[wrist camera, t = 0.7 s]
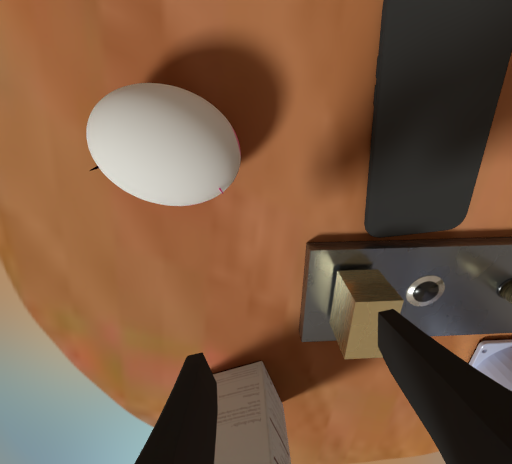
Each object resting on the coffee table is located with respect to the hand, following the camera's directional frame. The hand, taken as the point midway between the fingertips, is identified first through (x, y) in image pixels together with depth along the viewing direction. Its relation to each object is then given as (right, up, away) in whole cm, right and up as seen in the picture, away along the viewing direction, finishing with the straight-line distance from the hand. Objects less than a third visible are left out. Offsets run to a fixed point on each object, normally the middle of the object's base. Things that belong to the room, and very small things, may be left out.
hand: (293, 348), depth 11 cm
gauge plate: (+12, 0, +11) cm, 16 cm away
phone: (+9, +12, +6) cm, 16 cm away
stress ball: (-6, +10, +6) cm, 13 cm away
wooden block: (+6, 0, +9) cm, 11 cm away
